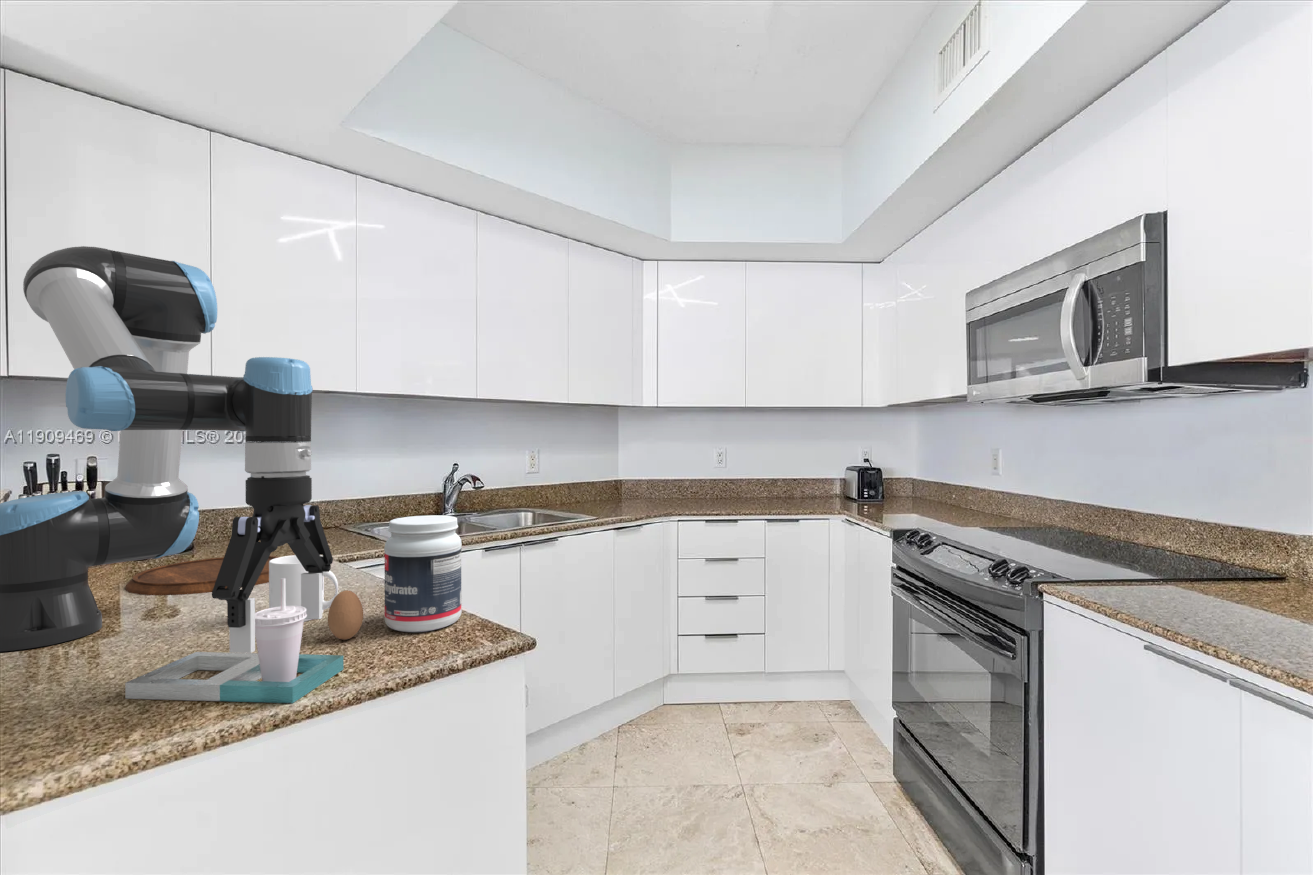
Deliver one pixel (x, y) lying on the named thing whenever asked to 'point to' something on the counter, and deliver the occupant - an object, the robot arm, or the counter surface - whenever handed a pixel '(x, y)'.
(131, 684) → the rail
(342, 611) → the egg
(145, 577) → the cutting board
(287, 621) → the smoothie
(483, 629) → the counter surface
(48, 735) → the counter surface
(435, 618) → the supplement tub
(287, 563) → the mug
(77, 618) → the robot arm
